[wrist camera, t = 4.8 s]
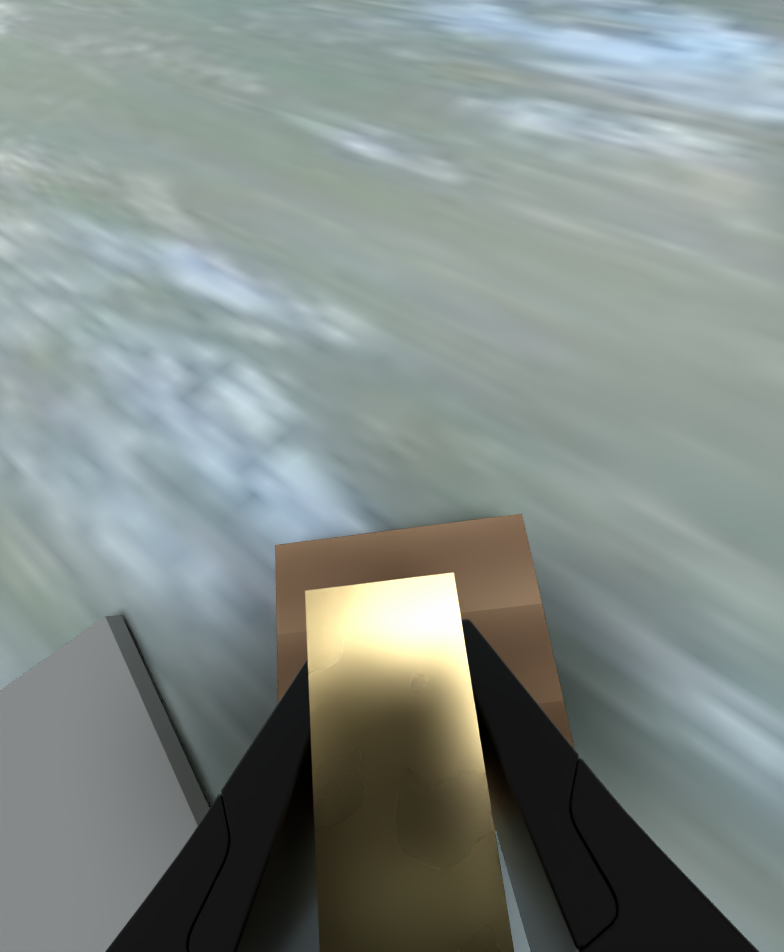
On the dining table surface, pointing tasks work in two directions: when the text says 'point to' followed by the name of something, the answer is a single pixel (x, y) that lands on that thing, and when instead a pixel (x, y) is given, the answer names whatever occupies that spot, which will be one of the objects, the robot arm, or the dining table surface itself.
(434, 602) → the t key
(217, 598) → the dining table surface
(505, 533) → the slot block
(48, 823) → the mat
